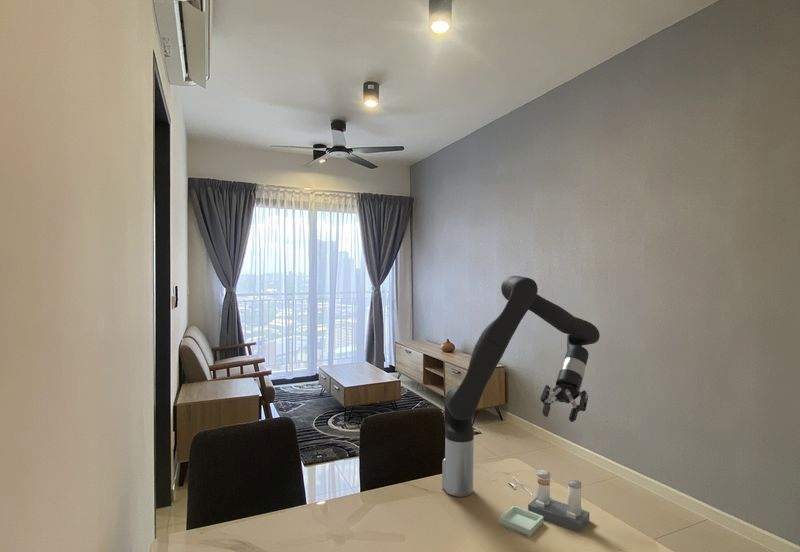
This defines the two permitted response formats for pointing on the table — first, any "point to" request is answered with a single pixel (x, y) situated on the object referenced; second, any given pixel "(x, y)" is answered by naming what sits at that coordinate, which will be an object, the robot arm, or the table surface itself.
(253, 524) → the table surface
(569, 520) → the fuse holder
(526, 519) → the tray
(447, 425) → the robot arm
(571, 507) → the plain fuse
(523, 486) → the picture light
